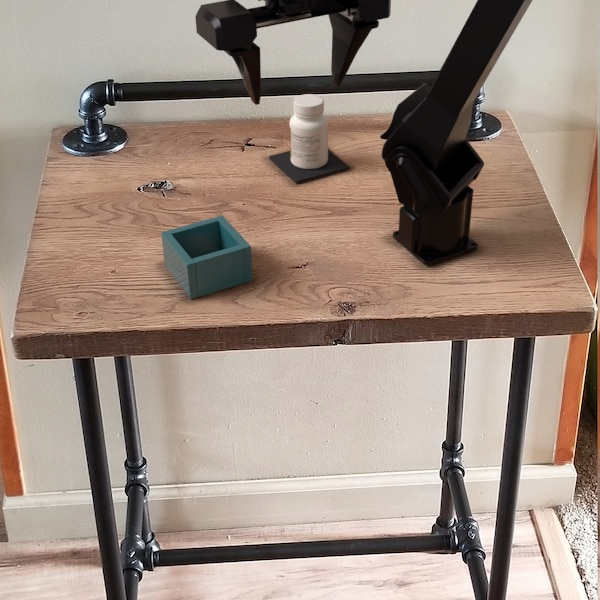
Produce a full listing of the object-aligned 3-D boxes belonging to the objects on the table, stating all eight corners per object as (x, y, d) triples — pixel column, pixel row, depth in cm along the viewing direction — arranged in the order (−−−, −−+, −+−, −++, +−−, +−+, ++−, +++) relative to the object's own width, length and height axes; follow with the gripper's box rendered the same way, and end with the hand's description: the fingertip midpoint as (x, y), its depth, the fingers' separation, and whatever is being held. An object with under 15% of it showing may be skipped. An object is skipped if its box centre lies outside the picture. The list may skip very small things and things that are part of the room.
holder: (224, 248, 101) (222, 214, 98) (252, 280, 96) (251, 246, 94) (164, 266, 98) (160, 232, 96) (190, 299, 94) (187, 265, 91)
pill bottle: (304, 149, 117) (303, 88, 113) (335, 158, 115) (335, 97, 111) (282, 164, 115) (281, 102, 110) (314, 173, 113) (313, 111, 108)
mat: (320, 145, 119) (320, 142, 119) (349, 169, 114) (349, 166, 114) (268, 159, 116) (268, 156, 116) (296, 184, 111) (296, 181, 111)
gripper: (339, -96, 101) (339, 51, 110) (168, -70, 94) (182, 84, 103) (396, -70, 92) (390, 86, 102) (212, -39, 86) (224, 125, 95)
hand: (296, 93), depth 100 cm, fingers open, 9 cm apart
